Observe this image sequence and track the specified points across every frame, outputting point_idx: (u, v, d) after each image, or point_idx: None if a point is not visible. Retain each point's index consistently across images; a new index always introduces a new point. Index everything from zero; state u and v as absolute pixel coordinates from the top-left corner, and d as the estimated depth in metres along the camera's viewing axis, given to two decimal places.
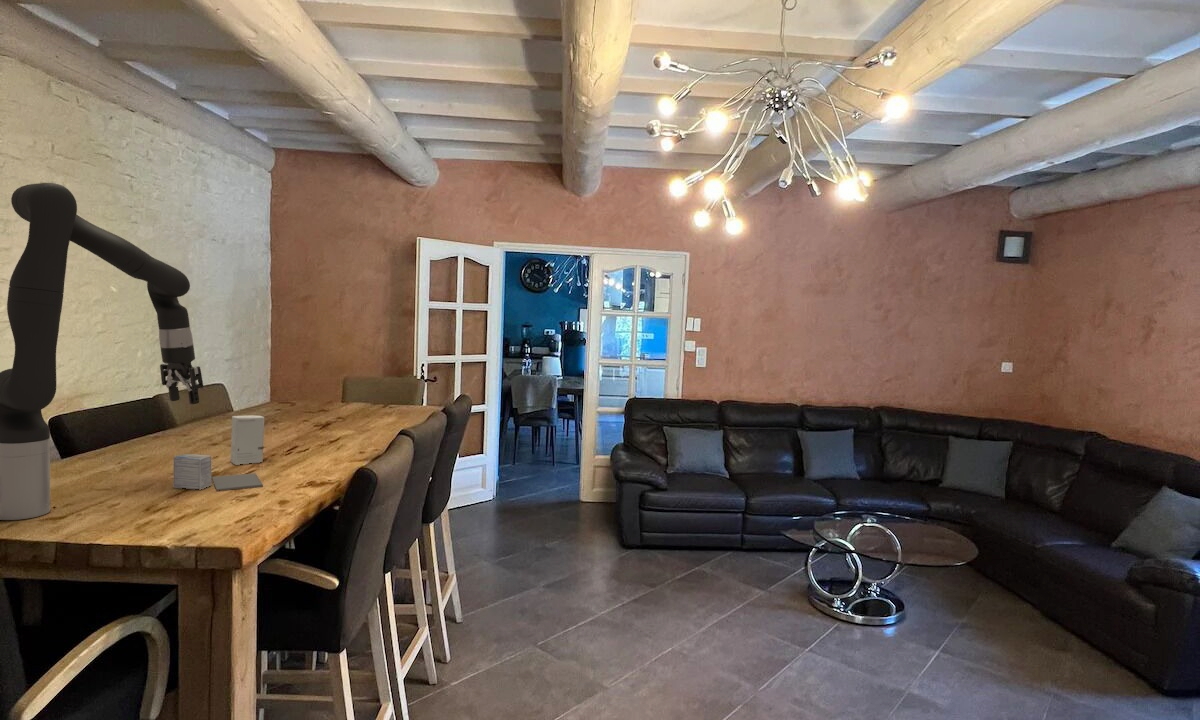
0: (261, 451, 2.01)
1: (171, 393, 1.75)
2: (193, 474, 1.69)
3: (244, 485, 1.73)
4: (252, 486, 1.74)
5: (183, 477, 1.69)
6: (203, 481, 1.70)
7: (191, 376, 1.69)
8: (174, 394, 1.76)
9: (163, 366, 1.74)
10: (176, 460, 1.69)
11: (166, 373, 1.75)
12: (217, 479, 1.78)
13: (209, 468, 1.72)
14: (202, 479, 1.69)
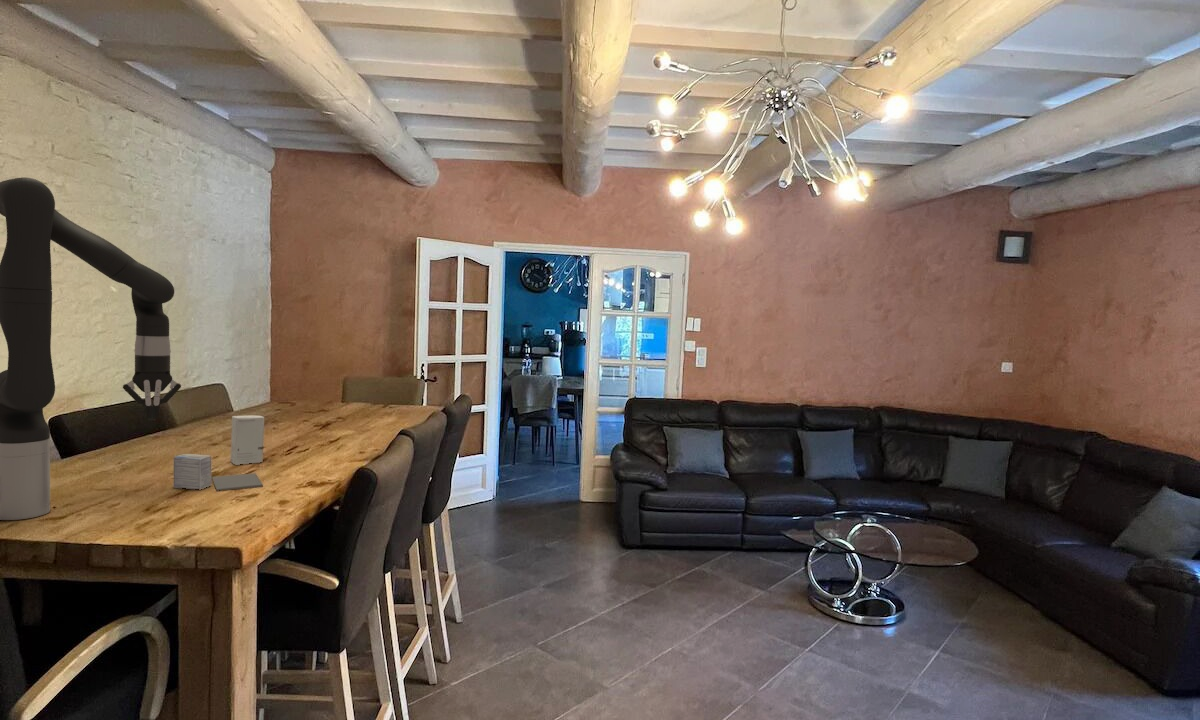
0: (261, 451, 2.01)
1: (152, 411, 1.64)
2: (193, 474, 1.69)
3: (244, 485, 1.73)
4: (252, 486, 1.74)
5: (183, 477, 1.69)
6: (203, 481, 1.70)
7: (173, 391, 1.66)
8: None
9: (127, 385, 1.60)
10: (176, 460, 1.69)
11: (134, 391, 1.62)
12: (217, 479, 1.78)
13: (209, 468, 1.72)
14: (202, 479, 1.69)
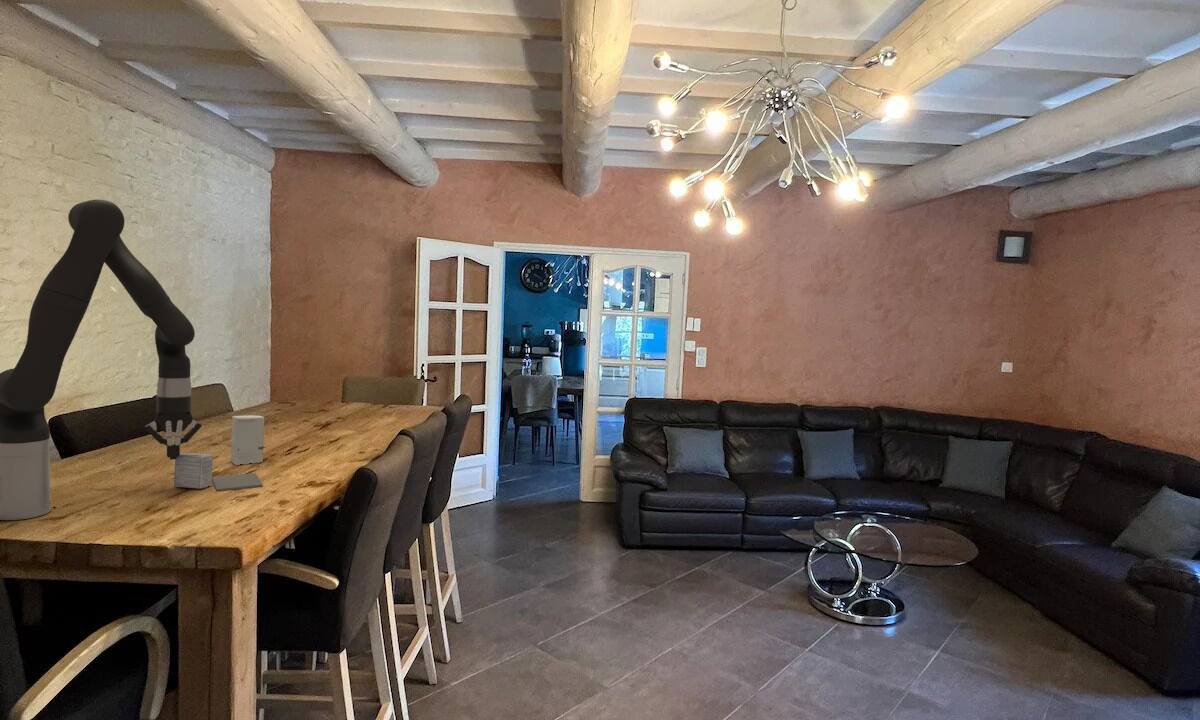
0: (261, 451, 2.01)
1: (173, 451, 1.67)
2: (194, 472, 1.69)
3: (244, 485, 1.73)
4: (252, 486, 1.74)
5: (184, 476, 1.69)
6: (204, 480, 1.70)
7: (194, 431, 1.69)
8: (173, 451, 1.68)
9: (150, 426, 1.64)
10: (178, 458, 1.69)
11: (156, 432, 1.65)
12: (217, 479, 1.78)
13: (210, 467, 1.72)
14: (203, 477, 1.70)
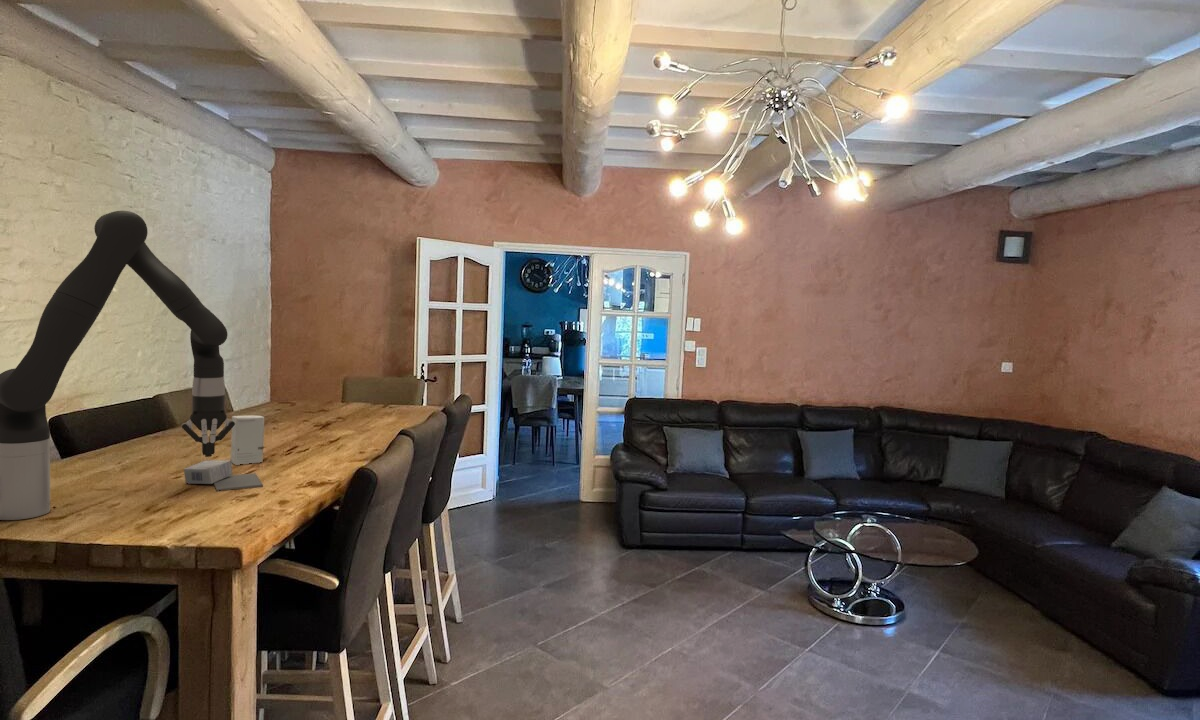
0: (261, 451, 2.01)
1: None
2: (214, 464, 1.77)
3: (244, 485, 1.73)
4: (252, 486, 1.74)
5: (201, 465, 1.76)
6: (215, 471, 1.74)
7: (228, 429, 1.74)
8: None
9: (186, 424, 1.68)
10: (207, 460, 1.81)
11: (192, 430, 1.70)
12: None
13: (224, 475, 1.78)
14: (217, 469, 1.75)
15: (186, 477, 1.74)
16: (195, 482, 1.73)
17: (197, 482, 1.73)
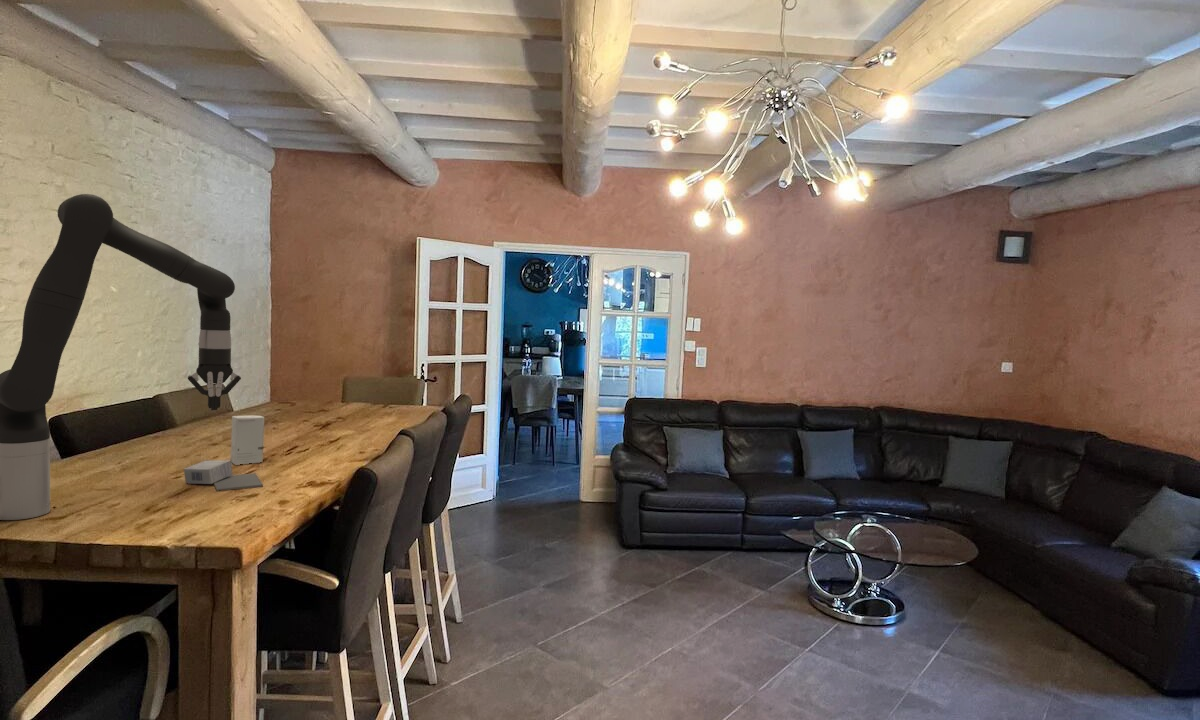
0: (261, 451, 2.01)
1: (214, 402, 1.72)
2: (214, 464, 1.77)
3: (244, 485, 1.73)
4: (252, 486, 1.74)
5: (201, 465, 1.76)
6: (215, 471, 1.74)
7: (234, 383, 1.74)
8: None
9: (192, 377, 1.68)
10: (207, 460, 1.81)
11: None
12: None
13: (224, 475, 1.78)
14: (217, 469, 1.75)
15: (186, 477, 1.74)
16: (195, 482, 1.73)
17: (197, 482, 1.73)
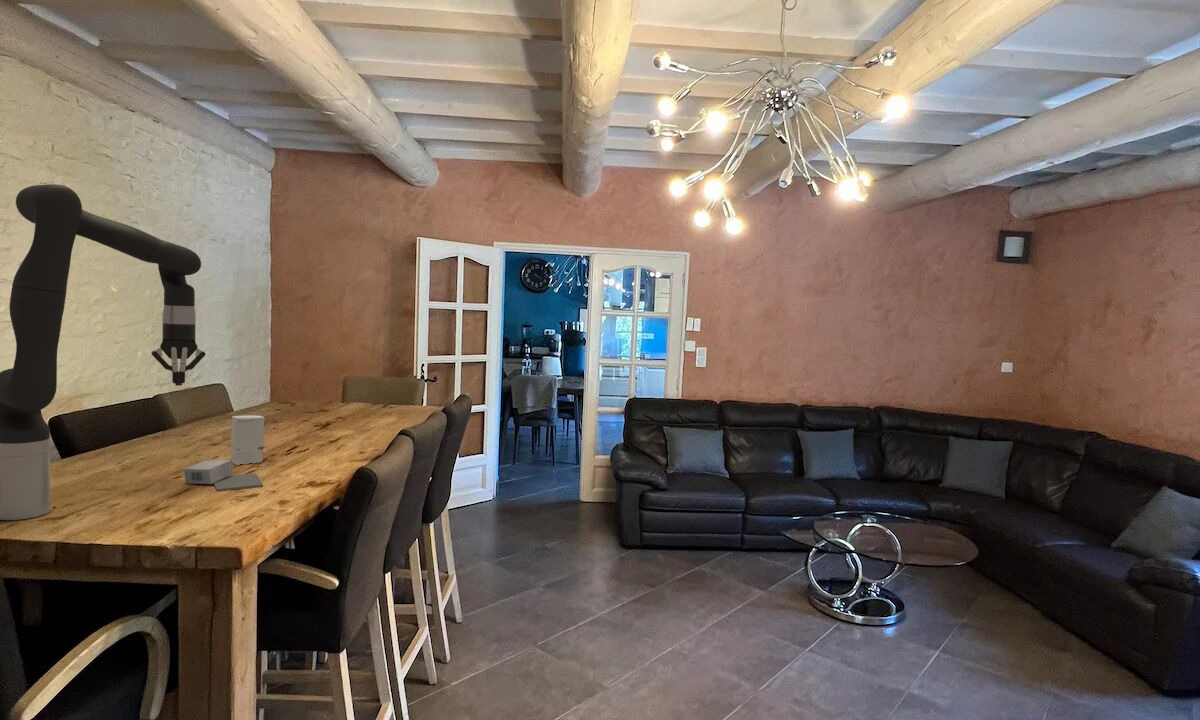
0: (261, 451, 2.01)
1: (178, 377, 1.73)
2: (214, 464, 1.77)
3: (244, 485, 1.73)
4: (252, 486, 1.74)
5: (201, 465, 1.76)
6: (215, 471, 1.74)
7: (198, 359, 1.75)
8: None
9: (156, 352, 1.70)
10: (207, 460, 1.81)
11: (162, 358, 1.71)
12: None
13: (224, 475, 1.78)
14: (217, 469, 1.75)
15: (186, 477, 1.74)
16: (195, 482, 1.73)
17: (197, 482, 1.73)
